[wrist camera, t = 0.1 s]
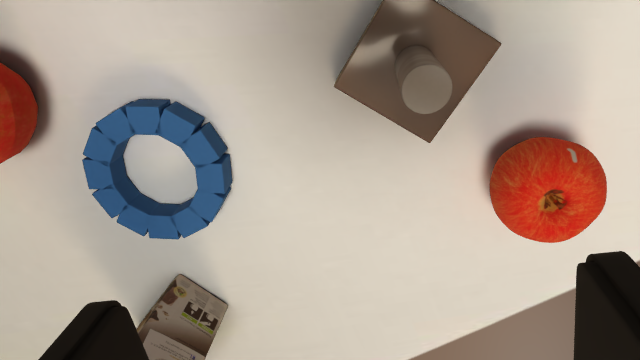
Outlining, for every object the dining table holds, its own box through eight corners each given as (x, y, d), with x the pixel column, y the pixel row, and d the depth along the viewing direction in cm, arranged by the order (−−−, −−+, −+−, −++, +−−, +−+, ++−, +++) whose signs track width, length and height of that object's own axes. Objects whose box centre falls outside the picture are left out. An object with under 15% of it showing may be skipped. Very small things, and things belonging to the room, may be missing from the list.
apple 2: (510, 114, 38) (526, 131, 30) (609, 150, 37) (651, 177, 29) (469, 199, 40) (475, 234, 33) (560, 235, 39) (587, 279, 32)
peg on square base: (396, -24, 34) (405, -23, 25) (497, 41, 35) (539, 62, 26) (334, 82, 37) (324, 114, 29) (427, 137, 38) (444, 184, 30)
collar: (124, 72, 39) (109, 78, 37) (254, 145, 40) (247, 154, 38) (82, 186, 44) (66, 197, 41) (199, 247, 45) (190, 260, 43)
